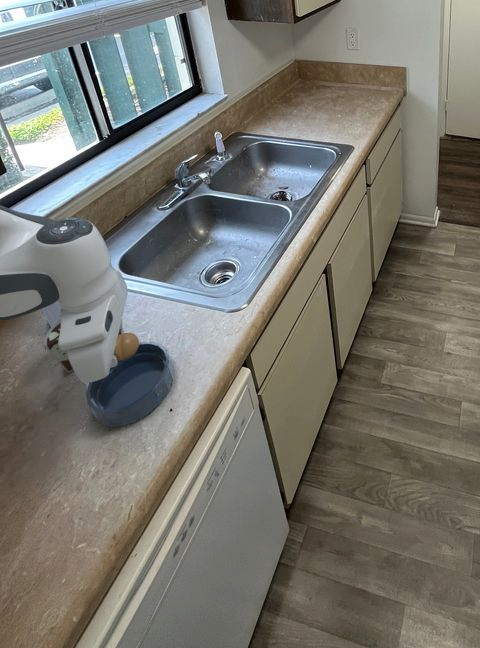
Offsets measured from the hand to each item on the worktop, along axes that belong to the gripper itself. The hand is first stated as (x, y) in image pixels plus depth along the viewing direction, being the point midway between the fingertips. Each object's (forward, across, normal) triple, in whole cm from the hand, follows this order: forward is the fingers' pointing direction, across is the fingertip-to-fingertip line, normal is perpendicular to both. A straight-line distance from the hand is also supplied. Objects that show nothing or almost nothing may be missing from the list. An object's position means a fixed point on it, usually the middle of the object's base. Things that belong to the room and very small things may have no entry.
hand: (116, 350), depth 83 cm
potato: (+2, 0, 0) cm, 2 cm away
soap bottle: (+13, -26, -17) cm, 33 cm away
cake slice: (+13, -14, -11) cm, 22 cm away
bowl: (+12, 0, 0) cm, 12 cm away
